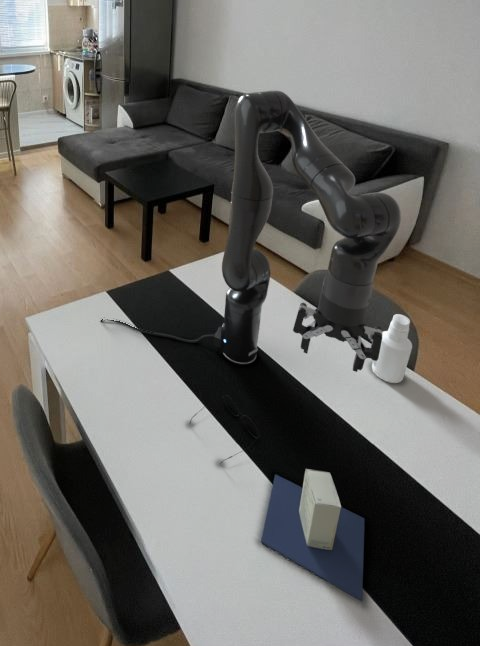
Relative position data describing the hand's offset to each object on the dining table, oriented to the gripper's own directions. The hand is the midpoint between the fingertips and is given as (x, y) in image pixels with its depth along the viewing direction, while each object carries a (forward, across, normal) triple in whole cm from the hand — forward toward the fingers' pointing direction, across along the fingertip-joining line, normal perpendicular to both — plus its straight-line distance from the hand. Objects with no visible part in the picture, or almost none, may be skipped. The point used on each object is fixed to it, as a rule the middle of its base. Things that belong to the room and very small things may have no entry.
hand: (329, 359), depth 84 cm
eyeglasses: (+28, +17, +6) cm, 33 cm away
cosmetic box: (+27, -3, +16) cm, 32 cm away
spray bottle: (+28, -14, -33) cm, 45 cm away
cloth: (+27, -3, +16) cm, 32 cm away
